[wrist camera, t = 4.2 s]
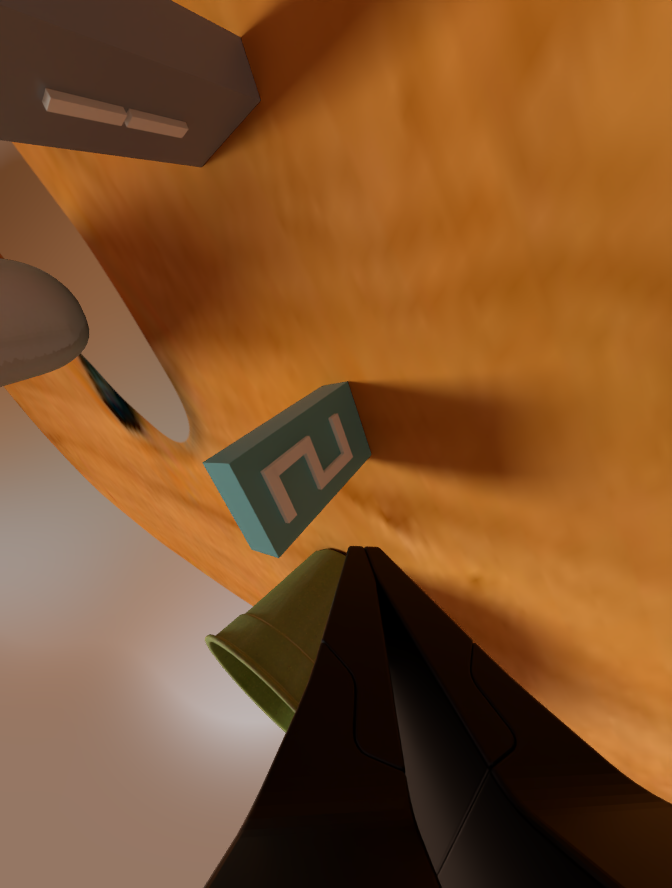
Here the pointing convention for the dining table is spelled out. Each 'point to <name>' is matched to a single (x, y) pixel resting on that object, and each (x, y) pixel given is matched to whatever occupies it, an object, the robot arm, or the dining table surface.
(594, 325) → the dining table surface
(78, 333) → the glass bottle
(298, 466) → the tile
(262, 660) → the plant pot
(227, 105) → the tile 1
